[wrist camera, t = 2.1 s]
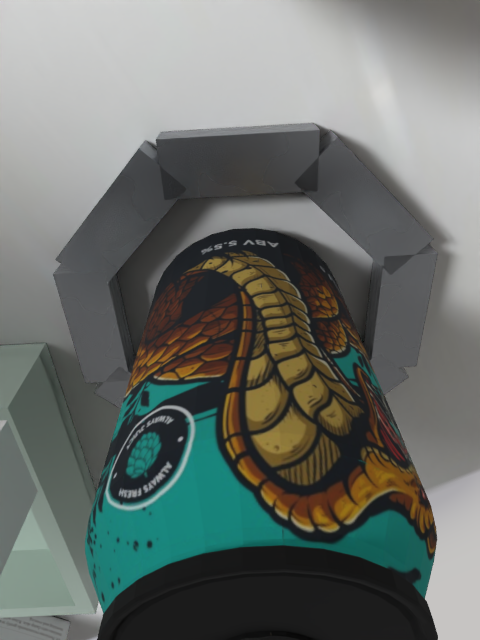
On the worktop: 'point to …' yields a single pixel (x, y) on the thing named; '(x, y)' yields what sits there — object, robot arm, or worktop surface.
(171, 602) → the beverage can
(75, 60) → the worktop surface
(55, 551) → the tray bin
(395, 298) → the socket collar
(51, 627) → the skincare box
